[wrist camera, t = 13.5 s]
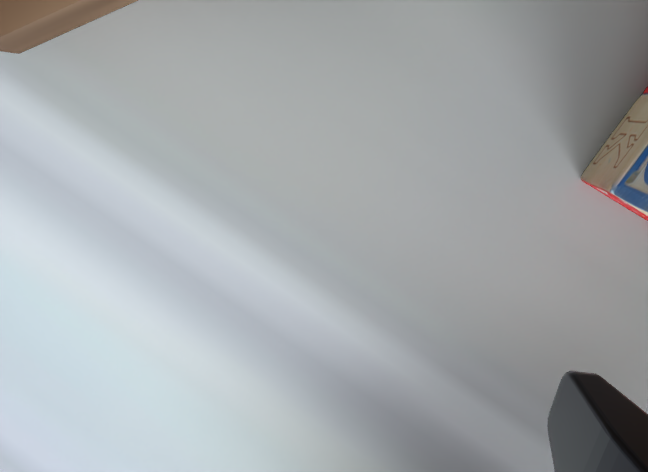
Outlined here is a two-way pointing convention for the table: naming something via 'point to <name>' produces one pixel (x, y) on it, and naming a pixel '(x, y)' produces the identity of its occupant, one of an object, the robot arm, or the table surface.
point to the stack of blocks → (624, 161)
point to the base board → (47, 19)
